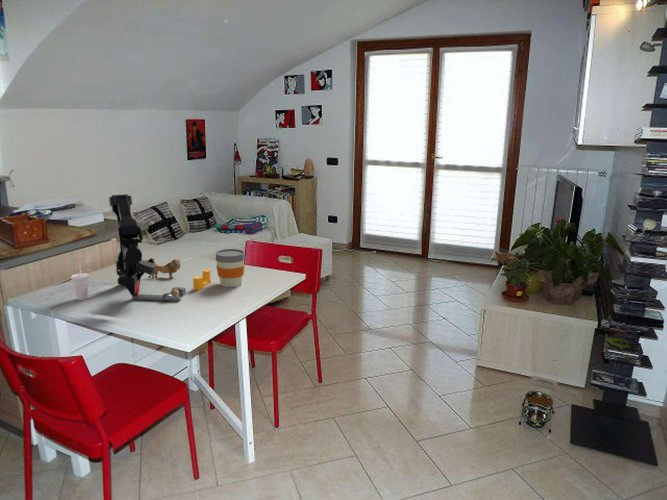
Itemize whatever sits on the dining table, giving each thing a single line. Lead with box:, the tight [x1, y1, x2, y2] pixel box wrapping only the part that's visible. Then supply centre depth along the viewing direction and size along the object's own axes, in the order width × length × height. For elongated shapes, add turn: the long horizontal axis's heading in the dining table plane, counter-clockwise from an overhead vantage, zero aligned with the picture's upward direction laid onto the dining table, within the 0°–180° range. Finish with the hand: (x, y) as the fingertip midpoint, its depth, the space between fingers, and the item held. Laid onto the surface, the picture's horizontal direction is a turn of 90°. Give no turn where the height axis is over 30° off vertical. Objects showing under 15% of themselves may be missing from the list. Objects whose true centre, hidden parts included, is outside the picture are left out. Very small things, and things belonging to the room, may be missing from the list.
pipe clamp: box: [192, 269, 211, 291], centre depth 215 cm, size 12×4×6 cm, turn 171°
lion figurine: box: [147, 258, 181, 280], centre depth 225 cm, size 15×5×9 cm, turn 103°
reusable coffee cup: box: [215, 248, 246, 288], centre depth 218 cm, size 13×13×15 cm
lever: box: [130, 281, 182, 303], centre depth 197 cm, size 19×4×8 cm, turn 86°
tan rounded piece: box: [169, 289, 179, 296], centre depth 201 cm, size 4×4×4 cm
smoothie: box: [70, 264, 90, 301], centre depth 199 cm, size 6×6×14 cm
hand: (135, 293), depth 197 cm, fingers open, 5 cm apart
